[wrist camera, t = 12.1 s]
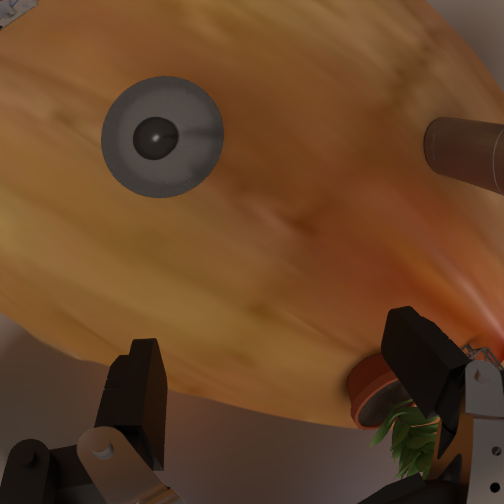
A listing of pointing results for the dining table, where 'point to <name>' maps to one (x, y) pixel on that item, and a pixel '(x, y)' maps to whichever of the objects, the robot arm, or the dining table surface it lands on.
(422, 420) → the potted plant
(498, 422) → the robot arm
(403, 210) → the dining table surface
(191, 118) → the lid
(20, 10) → the light bulb box
